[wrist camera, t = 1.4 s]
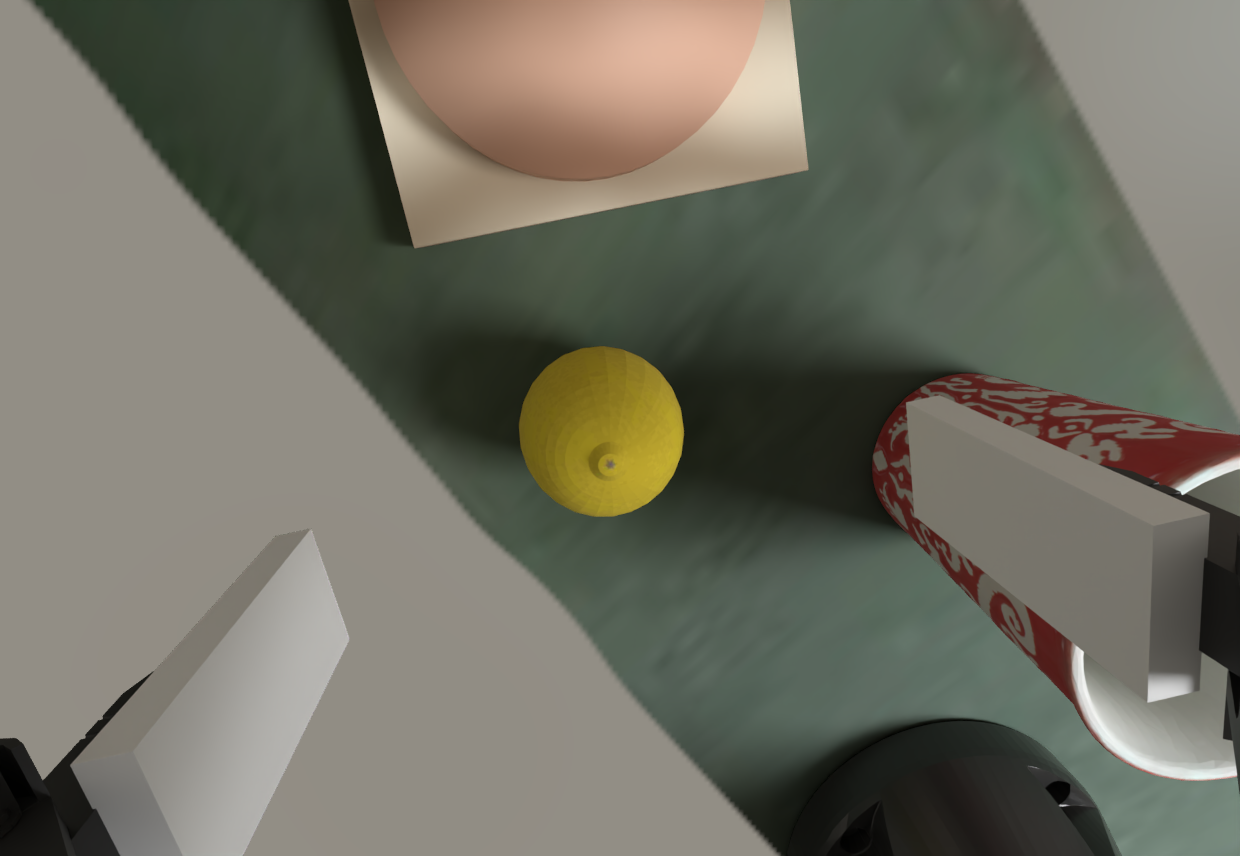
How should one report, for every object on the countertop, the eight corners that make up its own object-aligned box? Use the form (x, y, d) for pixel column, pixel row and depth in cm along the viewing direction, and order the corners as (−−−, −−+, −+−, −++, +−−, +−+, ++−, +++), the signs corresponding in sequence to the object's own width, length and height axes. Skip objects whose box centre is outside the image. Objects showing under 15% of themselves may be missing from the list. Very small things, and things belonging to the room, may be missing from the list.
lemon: (691, 406, 28) (743, 469, 20) (589, 495, 29) (601, 589, 21) (600, 302, 27) (618, 328, 19) (494, 398, 27) (470, 461, 20)
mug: (831, 552, 30) (1037, 786, 18) (866, 344, 28) (1132, 436, 15) (1099, 561, 32) (1474, 785, 19) (1154, 363, 30) (1623, 463, 17)
